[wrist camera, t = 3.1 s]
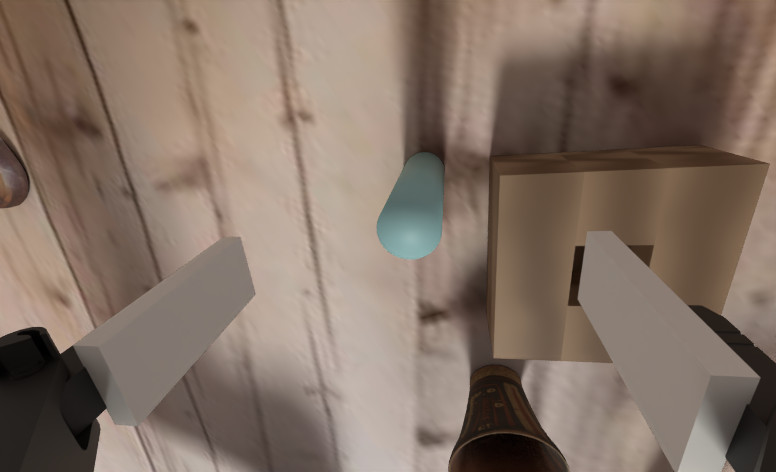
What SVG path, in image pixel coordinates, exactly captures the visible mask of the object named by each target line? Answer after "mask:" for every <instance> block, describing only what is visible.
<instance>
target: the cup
mask: <svg viewBox="0 0 776 472" xmlns="http://www.w3.org/2000/svg"><path fill="white" fill-rule="evenodd" d="M448 471H449V472H570V471H569V466H568V464H567V462H566V460H565V458H564V456H563V455H562V453H561V452H560V450H559V449H558V448H557V446H556V445H555V444H554V443H553V442H552V441H551V439H550V438H549V437H548V435H547V434H546V433H545V431H544V430H543V429H542V427H541V425H540V423H539V422H538V420H537V418H536V416H535V414H534V412H533V410H532V408H531V406H530V404H529V402H528V399H527V397H526V395H525V393H524V390H523V388H522V384H521V380H520V378H519V376H518V375H517V374H516V372H514V371H513V370H511V369H509V368H507V367H504V366H500V365H489V366H485V367H483V368H481V369H479V370H477V371H476V372H475V373H474V374H473V375H472V377H471V380H470V392H469V398H468V404H467V410H466V414H465V418H464V423H463V427H462V430H461V434H460V437H459V439H458V441H457V443H456V445H455V447H454V449H453V451H452V454H451V457H450V460H449V467H448Z"/></svg>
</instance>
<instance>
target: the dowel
mask: <svg viewBox="0 0 776 472" xmlns="http://www.w3.org/2000/svg"><path fill="white" fill-rule="evenodd" d="M444 174H445V170H444V165H443V163H442V161H441V160H440V159H439V158H438V157H437V156H436V155H434V154H432V153H429V152H420V153H417V154H415V155H413V156H412V157H410V158H409V159H408V161H407V162H406V164H405V166H404V168H403V170H402V172H401V174H400V176H399V178H398V180H397V182H396V184H395V186H394V188H393V190H392V192H391V194H390V196H389V198H388V200H387V202H386V204H385V206H384V208H383V210H382V212H381V214H380V216H379V218H378V222H377V234H378V238H379V240H380V242H381V244H382V245H383V247H384V248H385V249H386V250H387V251H388V252H390V253H391V254H393V255H394V256H397V257H399V258H403V259H418V258H422V257H424V256H426V255H428V254H430V253H431V252H432V251H433V250H434V249H435V248H436V247H437V245H438V243H439V242H440V239H441V234H442V216H443V195H444Z"/></svg>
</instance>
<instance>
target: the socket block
mask: <svg viewBox="0 0 776 472" xmlns="http://www.w3.org/2000/svg"><path fill="white" fill-rule="evenodd" d="M769 165H770V164H769V163H765V162H761V161H758V160H754V159H750V158H747V157H743V156H739V155H735V154H732V153H728V152H724V151H721V150H717V149H713V148H709V147H706V146H702V145H691V146H673V147H654V148H635V149H616V150H598V151H579V152H560V153H542V154H523V155H504V156H490V172H489V214H488V255H487V296H486V314H487V320H488V327H489V333H490V339H491V346H492V352H493V358H500V359H526V360H551V361H576V362H602V363H613V361H612V360H611V358H610V356H609V354H608V352H607V351H606V349H605V347H604V345H603V344H602V342H601V340H600V338H599V336H598V335H597V333H596V331H595V329H594V327H593V326H592V324H591V322H590V320H589V319H588V317H587V315H586V313H585V311H584V310H583V308H582V306H581V304H580V302H579V301H578V292H579V285H580V278H581V271H582V264H583V257H584V250H585V243H586V236H587V231H612V232H613V233H614V234H615V235H616V236H617V237H618V238H619V239H620V240H621V241H622V242H623V243H624V244H625V245H626V246H627V247H628V248H629V249H630V250H631V251H632V252H633V253H634V254H635V255H636V256H637V257H638V258H640V259H641V260H642V261H643V262H644V263H645V264H646V265H647V266H648V267H649V268H650V269H651V270H652V271H653V272H654V273H655V274H656V275H657V276H658V277H659V278H660V279H661V280H662V281H663V282H664V283H665V284H666V285H667V286H668V287H669V288H670V289H671V290H672V291H673V292H674V293H675V294H676V295H677V296H678V297H679V298H680V299H681V300H682V301H683V302H684V303H685V304H686V305H702V306H704V307H706V308H708V309H710V310H711V311H713V312H715V313H717V314H719V315H721V313H722V310H723V307H724V304H725V301H726V298H727V295H728V292H729V289H730V286H731V282H732V279H733V276H734V273H735V270H736V267H737V264H738V261H739V258H740V255H741V252H742V248H743V245H744V242H745V239H746V236H747V233H748V230H749V227H750V224H751V221H752V218H753V214H754V211H755V208H756V205H757V202H758V199H759V196H760V193H761V190H762V187H763V183H764V180H765V177H766V174H767V171H768V168H769Z"/></svg>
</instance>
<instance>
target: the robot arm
mask: <svg viewBox="0 0 776 472" xmlns="http://www.w3.org/2000/svg"><path fill="white" fill-rule="evenodd" d="M255 294H256V293H255V289H254V286H253V282H252V278H251V275H250V271H249V267H248V263H247V260H246V256H245V252H244V248H243V245H242V241H241V237H223V238H221V239H220V240H219V241H217V242H216V243H214V244H213V245H212V246H210V247H209V248H208V249H206V250H205V251H203V252H202V253H201V254H199V255H198V256H196V257H195V258H194V259H192V260H191V261H189V262H188V263H187V264H185V265H184V266H182V267H181V268H180V269H178V270H177V271H175V272H174V273H173V274H171V275H170V276H168V277H167V278H166V279H164V280H163V281H162V282H160V283H159V284H157V285H156V286H155V287H153V288H152V289H150V290H149V291H148V292H146V293H145V294H143V295H142V296H141V297H139V298H138V299H136V300H135V301H134V302H132V303H131V304H129V305H128V306H127V307H125V308H124V309H123V310H121V311H120V312H118V313H117V314H116V315H114V316H113V317H111V318H110V319H109V320H107V321H106V322H104V323H103V324H102V325H100V326H99V327H97V328H96V329H95V330H93V331H92V332H90V333H89V334H88V335H86V336H85V337H84V338H82V339H81V340H79V341H78V342H77V343H75V344H74V345H73V346H71V347H70V348H68V349H67V350H66V351H64V352H63V353H61V354H60V353H59V351H58V349H57V347H56V346H55V344H54V342H53V340H52V339H51V337H50V335H49V333H48V331H47V330H46V329H45V328H43V327H31V328H26V329H22V330H18V331H16V332H13V333H10V334H7V335H5V336H3V337H1V338H0V472H94V466H95V460H96V454H97V448H98V442H99V436H100V424H99V423H98V421H97V419H96V418H97V417H98V416H99V415H100V414H101V413H102V412H103V411H104V410H105V409H107V411H108V413H109V414H110V416H111V418H112V420H113V422H114V424H117V425H128V426H139V425H140V424H141V423H142V422H143V421H144V420H145V419H146V417H147V416H148V415H149V414H150V413H151V412H152V411H153V410H154V408H155V407H156V406H157V405H158V404H159V403H160V402H161V401H162V399H163V398H164V397H165V396H166V395H167V394H168V393H169V391H170V390H171V389H172V388H173V387H174V386H175V385H176V384H177V382H178V381H179V380H180V379H181V378H182V377H183V376H184V375H185V373H186V372H187V371H188V370H189V369H190V368H191V367H192V366H193V364H194V363H195V362H196V361H197V360H198V359H199V358H200V357H201V355H202V354H203V353H204V352H205V351H206V350H207V349H208V347H209V346H210V345H211V344H212V343H213V342H214V341H215V340H216V338H217V337H218V336H219V335H220V334H221V333H222V332H223V331H224V329H225V328H226V327H227V326H228V325H229V324H230V323H231V322H232V320H233V319H234V318H235V317H236V316H237V315H238V314H239V313H240V311H241V310H242V309H243V308H244V307H245V306H246V305H247V303H248V302H249V301H250V300H251V299H252V298H253V297H254V296H255ZM578 301H579V302H580V304H581V306H582V308H583V310H584V311H585V313H586V315H587V317H588V319H589V320H590V322H591V324H592V326H593V327H594V329H595V331H596V333H597V335H598V336H599V338H600V340H601V342H602V344H603V345H604V347H605V349H606V351H607V352H608V354H609V356H610V358H611V360H612V361H613V363H614V365H615V367H616V369H617V370H618V372H619V374H620V376H621V377H622V379H623V381H624V383H625V385H626V386H627V388H628V390H629V392H630V394H631V395H632V397H633V399H634V401H635V402H636V404H637V406H638V408H639V410H640V411H641V413H642V415H643V417H644V419H645V420H646V422H647V424H648V426H649V428H650V429H651V431H652V433H653V435H654V436H655V438H656V440H657V442H658V444H659V445H660V447H661V449H662V451H663V453H664V454H665V456H666V458H667V460H668V461H669V463H670V465H671V467H672V469H673V470H674V472H721V471H722V469H723V466H724V464H725V462H726V459H727V460H728V462H729V463H730V465H731V466H732V467H733V469H734V470H735V472H776V363H775V362H774V361H773V360H771V359H770V358H769V357H768V356H767V355H766V354H765V353H764V352H762V351H761V350H760V349H759V348H758V347H754V343H752V342H751V341H750V340H749V339H748V338H747V337H746V336H745V335H741V334H740V331H739V330H738V329H737V328H736V327H734V326H733V325H732V324H731V323H730V322H729V321H728V320H727V319H726V318H724V317H723V316H721V315H719V314H717V313H715V312H713V311H711V310H710V309H708V308H706V307H704V306H702V305H686V304H685V303H684V302H683V301H682V300H681V299H680V298H679V297H678V296H677V295H676V294H675V293H674V292H673V291H672V290H671V289H670V288H669V287H668V286H667V285H666V284H665V283H664V282H663V281H662V280H661V279H660V278H659V277H658V276H657V275H656V274H655V273H654V272H653V271H652V270H651V269H650V268H649V267H648V266H647V265H646V264H645V263H644V262H643V261H642V260H641V259H640V258H638V257H637V256H636V255H635V254H634V253H633V252H632V251H631V250H630V249H629V248H628V247H627V246H626V245H625V244H624V243H623V242H622V241H621V240H620V239H619V238H618V237H617V236H616V235H615V234H614V233H613V232H612V231H587V236H586V243H585V250H584V257H583V264H582V271H581V278H580V285H579V292H578Z"/></svg>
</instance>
